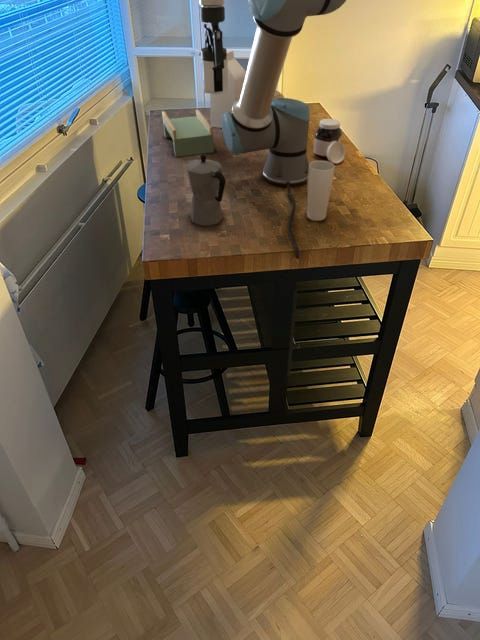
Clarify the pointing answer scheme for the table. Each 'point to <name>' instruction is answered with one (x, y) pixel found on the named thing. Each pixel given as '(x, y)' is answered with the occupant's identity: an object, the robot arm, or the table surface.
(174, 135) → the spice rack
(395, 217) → the table surface
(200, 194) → the coffeepot
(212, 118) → the milk
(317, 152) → the spread jar
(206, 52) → the jar
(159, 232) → the table surface
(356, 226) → the table surface
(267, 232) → the table surface
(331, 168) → the drinking glass
